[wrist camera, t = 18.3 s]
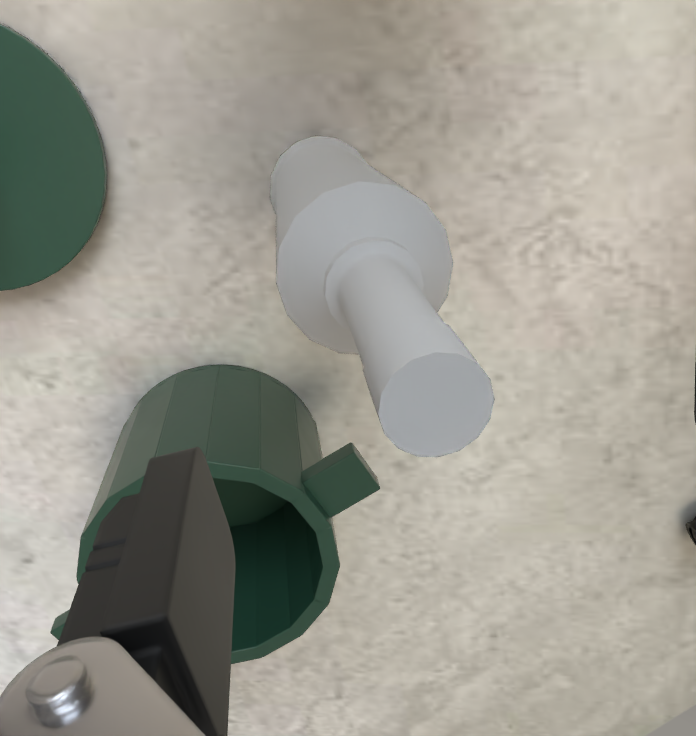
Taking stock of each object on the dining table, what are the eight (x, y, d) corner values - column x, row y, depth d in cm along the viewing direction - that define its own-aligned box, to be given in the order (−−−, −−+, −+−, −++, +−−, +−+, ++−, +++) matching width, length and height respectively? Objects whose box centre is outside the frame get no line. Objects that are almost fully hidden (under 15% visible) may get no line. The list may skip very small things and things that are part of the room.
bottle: (351, 247, 36) (511, 550, 13) (257, 220, 34) (252, 501, 12) (382, 151, 34) (632, 306, 11) (284, 119, 33) (338, 219, 10)
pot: (42, 456, 38) (-30, 582, 29) (288, 301, 36) (298, 381, 27) (167, 581, 43) (141, 725, 34) (391, 450, 41) (431, 563, 32)
